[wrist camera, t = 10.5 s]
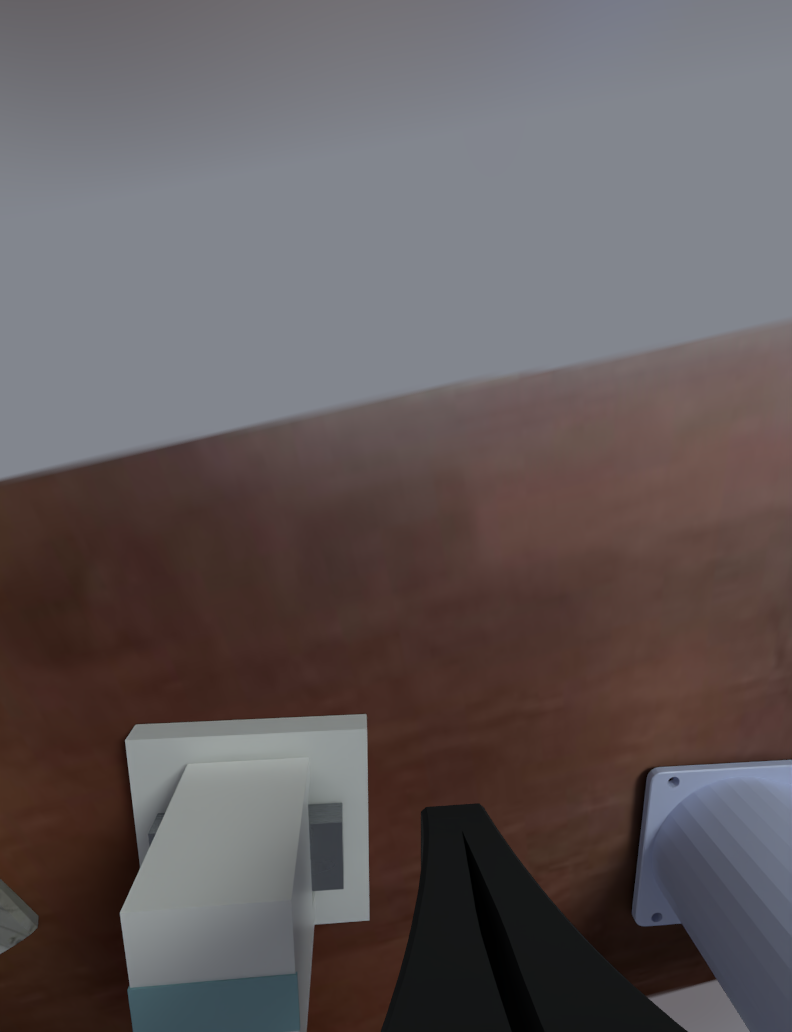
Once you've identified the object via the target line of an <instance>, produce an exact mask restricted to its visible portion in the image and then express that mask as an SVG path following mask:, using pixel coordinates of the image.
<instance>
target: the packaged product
mask: <svg viewBox="0 0 792 1032" xmlns="http://www.w3.org/2000/svg"><path fill="white" fill-rule="evenodd" d="M38 917H39V916H38V915H37V914H36V913H35V912H34V911H33V910H32V909H31V908H30V907H29V906H28V905H27V904H26V903H25V902H24V901H23V900H22V899H21V898H20V897H19V896H18V895H17V894H16V893H15V892H14V891H12V890H11V889H10V888H9V887H8V886H7V885H6V884H5V883H4V882H3V881H2V880H1V879H0V954H1V953H3V952H4V951H6V950H8V949H9V948H11V947H13V946H14V945H16V944H17V943H19V942H20V941H22V940H23V939H25V938H26V937H27V936H29V935H30V934H32V933H33V932H34V931H35V930H36V929H37V928H38Z"/></svg>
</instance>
